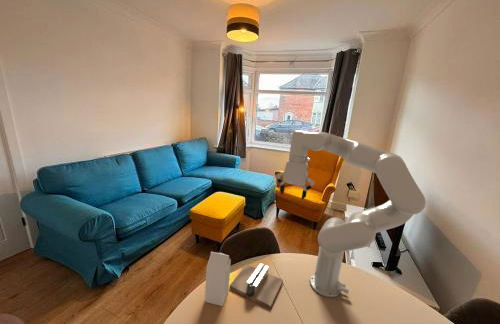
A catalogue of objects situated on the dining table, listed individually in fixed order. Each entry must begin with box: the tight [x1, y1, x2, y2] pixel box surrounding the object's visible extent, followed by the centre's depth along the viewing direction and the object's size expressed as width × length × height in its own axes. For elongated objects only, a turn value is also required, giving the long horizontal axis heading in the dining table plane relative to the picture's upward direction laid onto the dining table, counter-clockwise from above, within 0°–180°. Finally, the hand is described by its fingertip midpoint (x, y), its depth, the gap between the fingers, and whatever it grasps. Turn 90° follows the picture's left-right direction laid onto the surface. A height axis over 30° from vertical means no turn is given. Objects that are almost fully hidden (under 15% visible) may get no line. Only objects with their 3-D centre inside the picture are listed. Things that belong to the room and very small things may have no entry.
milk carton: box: [204, 251, 232, 307], centre depth 79 cm, size 7×7×19 cm
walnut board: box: [228, 264, 284, 310], centre depth 88 cm, size 18×15×2 cm
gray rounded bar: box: [246, 262, 269, 297], centre depth 87 cm, size 15×4×4 cm, turn 153°
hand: (292, 195), depth 94 cm, fingers open, 9 cm apart
